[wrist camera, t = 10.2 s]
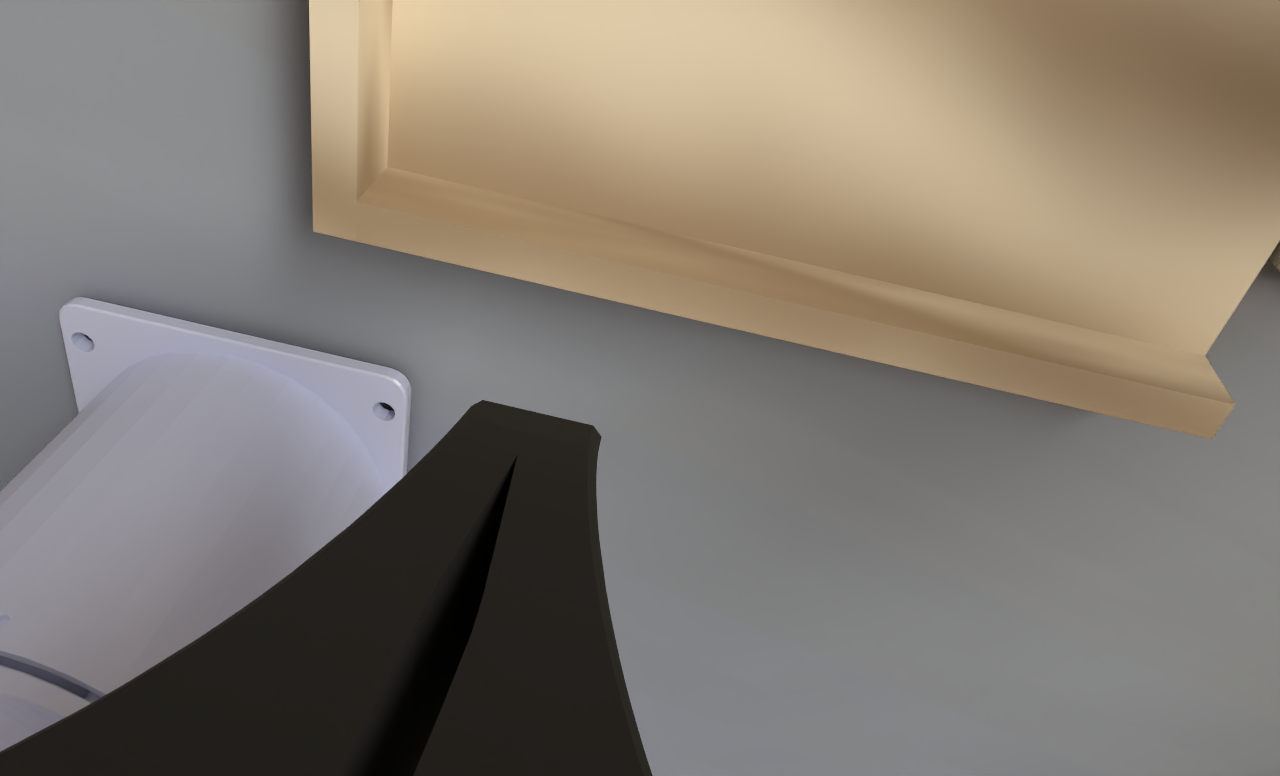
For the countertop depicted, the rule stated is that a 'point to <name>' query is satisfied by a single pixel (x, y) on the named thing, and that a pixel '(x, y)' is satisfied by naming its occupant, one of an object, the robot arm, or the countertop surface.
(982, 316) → the tray
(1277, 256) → the cover plate
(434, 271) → the countertop surface
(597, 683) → the robot arm
